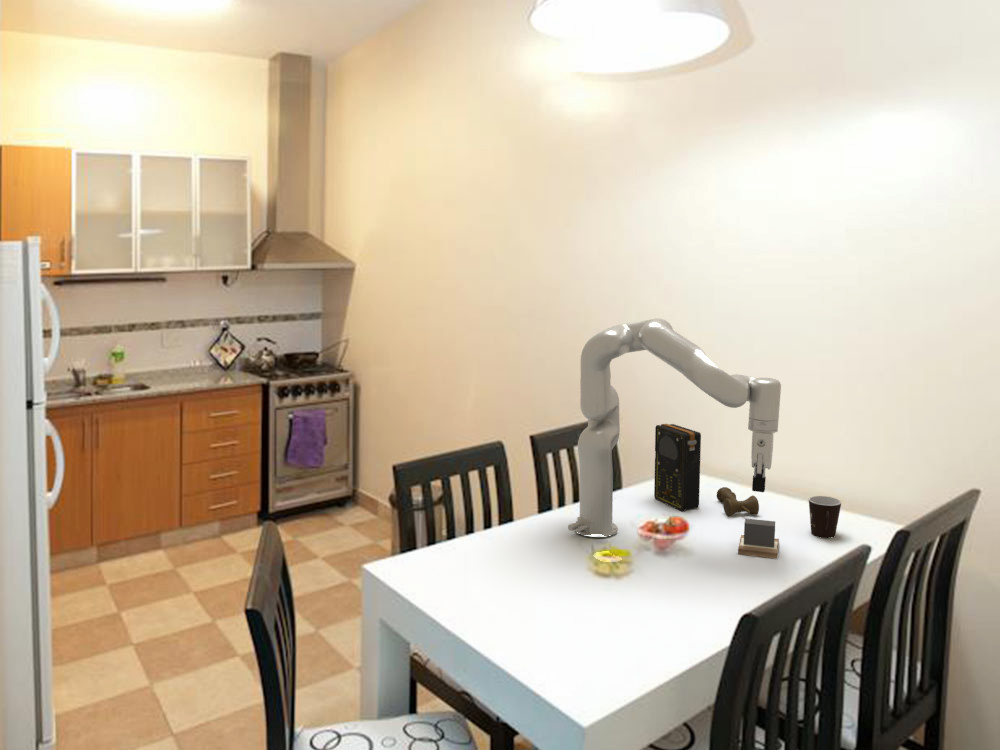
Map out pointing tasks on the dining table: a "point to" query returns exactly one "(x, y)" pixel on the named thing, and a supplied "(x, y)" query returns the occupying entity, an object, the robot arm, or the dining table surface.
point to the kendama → (737, 503)
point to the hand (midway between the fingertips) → (758, 490)
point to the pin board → (758, 549)
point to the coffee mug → (824, 515)
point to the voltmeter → (677, 466)
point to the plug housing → (759, 532)
